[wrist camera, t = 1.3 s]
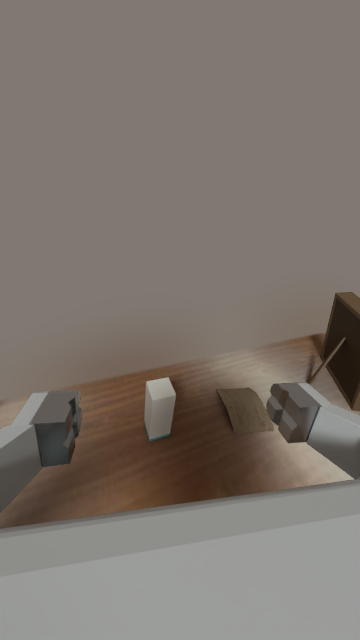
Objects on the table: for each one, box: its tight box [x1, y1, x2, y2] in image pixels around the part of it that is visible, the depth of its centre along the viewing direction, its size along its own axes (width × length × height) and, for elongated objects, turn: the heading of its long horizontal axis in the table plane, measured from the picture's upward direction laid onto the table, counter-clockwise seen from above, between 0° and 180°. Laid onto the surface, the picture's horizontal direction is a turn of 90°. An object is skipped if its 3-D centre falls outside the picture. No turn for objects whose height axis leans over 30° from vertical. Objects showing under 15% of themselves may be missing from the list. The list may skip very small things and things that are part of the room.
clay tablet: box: [216, 388, 274, 434], centre depth 55 cm, size 15×10×3 cm
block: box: [144, 377, 176, 442], centre depth 45 cm, size 4×4×13 cm
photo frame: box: [308, 292, 360, 411], centre depth 62 cm, size 15×22×25 cm
